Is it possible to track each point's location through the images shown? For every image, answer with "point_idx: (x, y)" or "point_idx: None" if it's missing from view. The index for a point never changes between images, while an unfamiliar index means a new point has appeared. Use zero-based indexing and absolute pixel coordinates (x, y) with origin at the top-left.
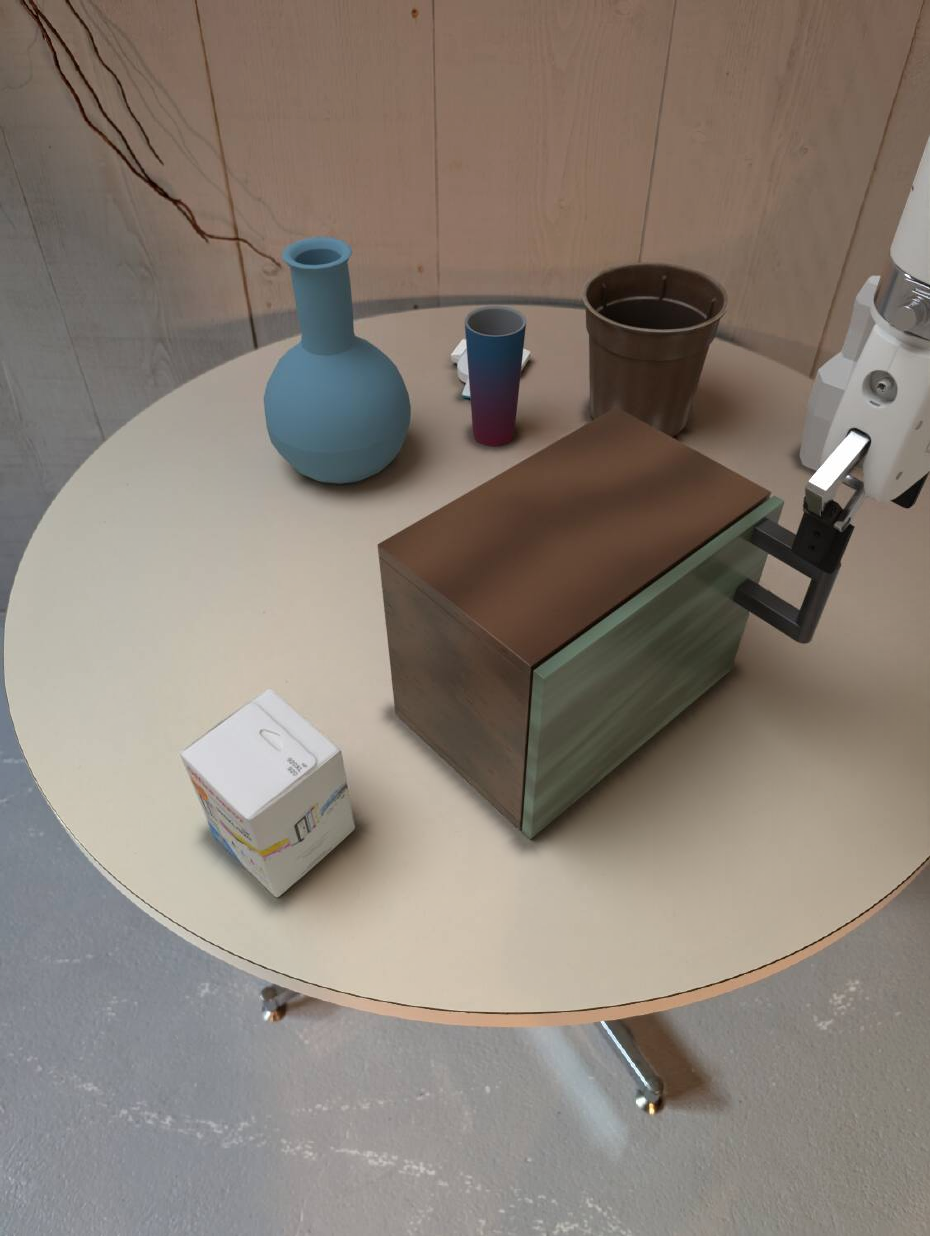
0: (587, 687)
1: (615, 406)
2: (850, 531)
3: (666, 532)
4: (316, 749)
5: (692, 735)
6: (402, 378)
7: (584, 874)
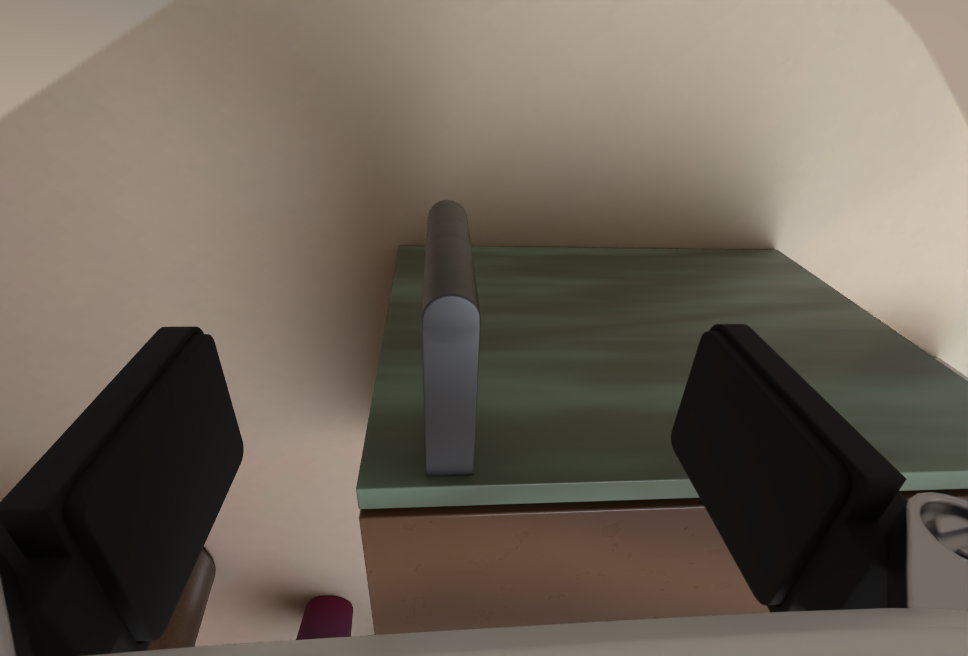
0: (879, 387)
1: (194, 602)
2: (893, 470)
3: (630, 552)
4: None
5: (529, 214)
6: None
7: (786, 178)
